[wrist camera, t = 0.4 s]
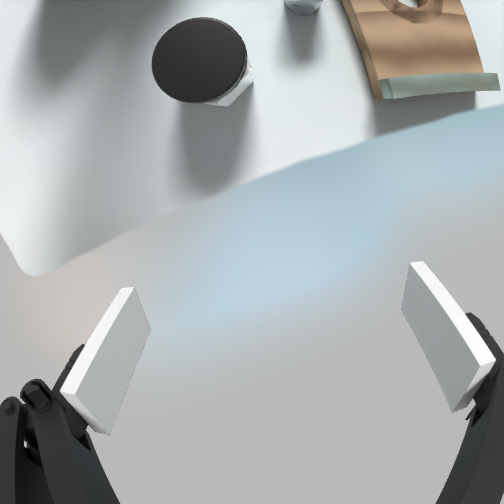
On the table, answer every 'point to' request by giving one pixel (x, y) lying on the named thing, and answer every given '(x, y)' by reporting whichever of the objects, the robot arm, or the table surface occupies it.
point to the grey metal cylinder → (303, 6)
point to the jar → (202, 62)
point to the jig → (417, 48)
